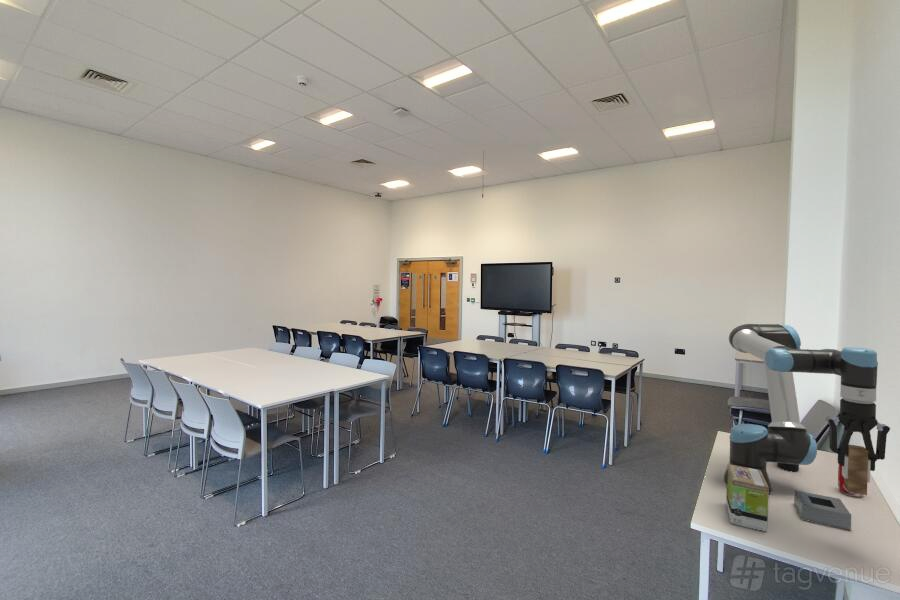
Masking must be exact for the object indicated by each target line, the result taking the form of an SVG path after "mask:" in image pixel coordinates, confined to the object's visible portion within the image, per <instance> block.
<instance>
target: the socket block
mask: <svg viewBox="0 0 900 600" xmlns="http://www.w3.org/2000/svg"><path fill="white" fill-rule="evenodd" d="M793 496H794V498H793V499H794V507H795V508H796V510H797V512H799V513H798V515H799V514H800V515H799V517H800V516H801V517H800V519H801V518H802V519H805V520H804V521H806V520H809V521H808V522H810V521H813V522H812V523H814V522H817V523H816V524H819V523H821V525H823V524H825V526H828V525H829V527H832V526H833V528H838V529H842V530H846V531H852V514H851V513H850V511H849V510H848V509H847V507H846V506H845V504H844V503H843V502H842V500H841V498H838V497H837V498H836V497H833V496H827V495H822V494H816V493H812V492H806V491H801V490H797V489H795V490H794V495H793ZM802 519H801V520H802Z"/></svg>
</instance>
